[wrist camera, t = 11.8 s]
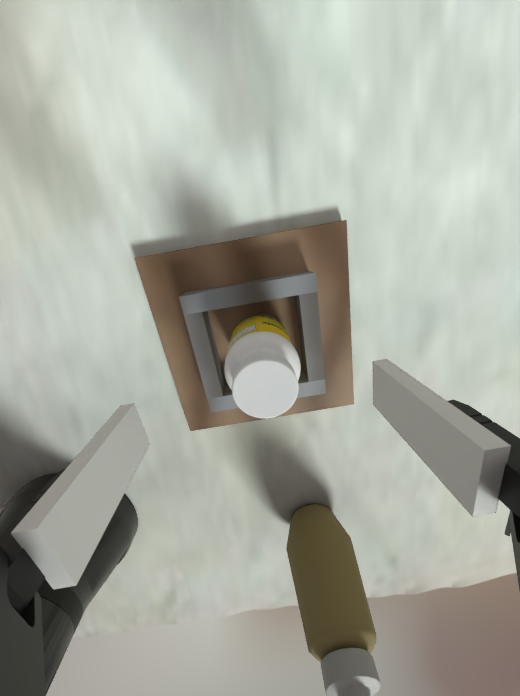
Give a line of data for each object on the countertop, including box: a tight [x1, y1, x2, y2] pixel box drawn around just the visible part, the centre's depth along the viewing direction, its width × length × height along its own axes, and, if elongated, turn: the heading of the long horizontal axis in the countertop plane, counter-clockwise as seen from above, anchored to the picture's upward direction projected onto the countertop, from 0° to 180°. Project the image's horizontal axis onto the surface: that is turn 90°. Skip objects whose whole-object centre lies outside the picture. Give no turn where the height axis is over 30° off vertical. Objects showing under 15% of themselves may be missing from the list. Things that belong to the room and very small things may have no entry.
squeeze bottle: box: [287, 504, 380, 696], centre depth 25 cm, size 8×8×18 cm
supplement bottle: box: [224, 314, 301, 418], centre depth 19 cm, size 5×5×10 cm
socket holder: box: [135, 220, 354, 431], centre depth 23 cm, size 18×18×4 cm
